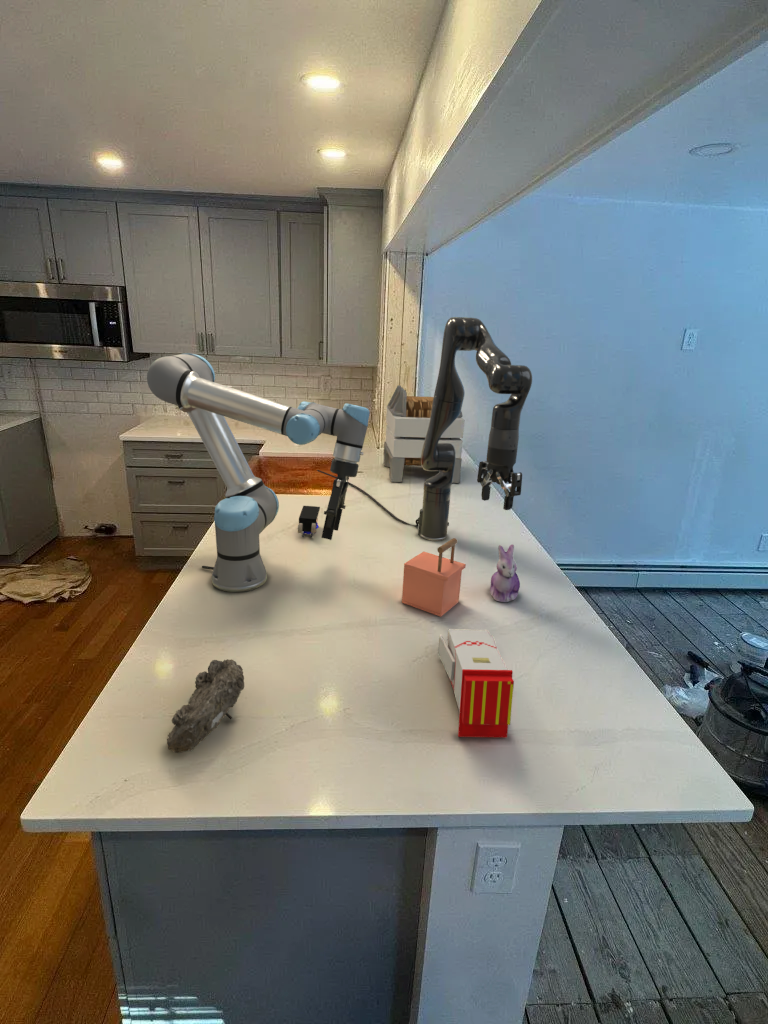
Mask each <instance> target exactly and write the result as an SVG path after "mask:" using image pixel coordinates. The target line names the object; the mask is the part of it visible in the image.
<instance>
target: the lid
mask: <svg viewBox="0 0 768 1024" xmlns="http://www.w3.org/2000/svg"><path fill="white" fill-rule="evenodd" d="M457 544H458V539H457V538H456V537H453V538H451V539H449V540H448V541H447V542H445V543H443V544H442V545H440V546H438V547H437V552H438V555H437V554H433V553H430V552H428V551H422V552H420V553H419V554H417V555H415V556H414V557H412V558H411V559H409V560H407V561H406V562H404V563H403V568H404V567H406V568H409V569H412V570H415V571H418V572H421V573H424V574H427V575H430V576H434V577H437V578H440V579H443V580H446V581H448V580H450V579H451V578H452V577H454V576H455V575H456V574H458V573H459V572H460V571H462V572H463V570H464V569H466V566H467V564H466V563H464V562H460V561H457V560H455V550H456V545H457ZM449 549H450V558H447V557H443V554H444V553H445V552H446V551H448V550H449Z"/></svg>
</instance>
